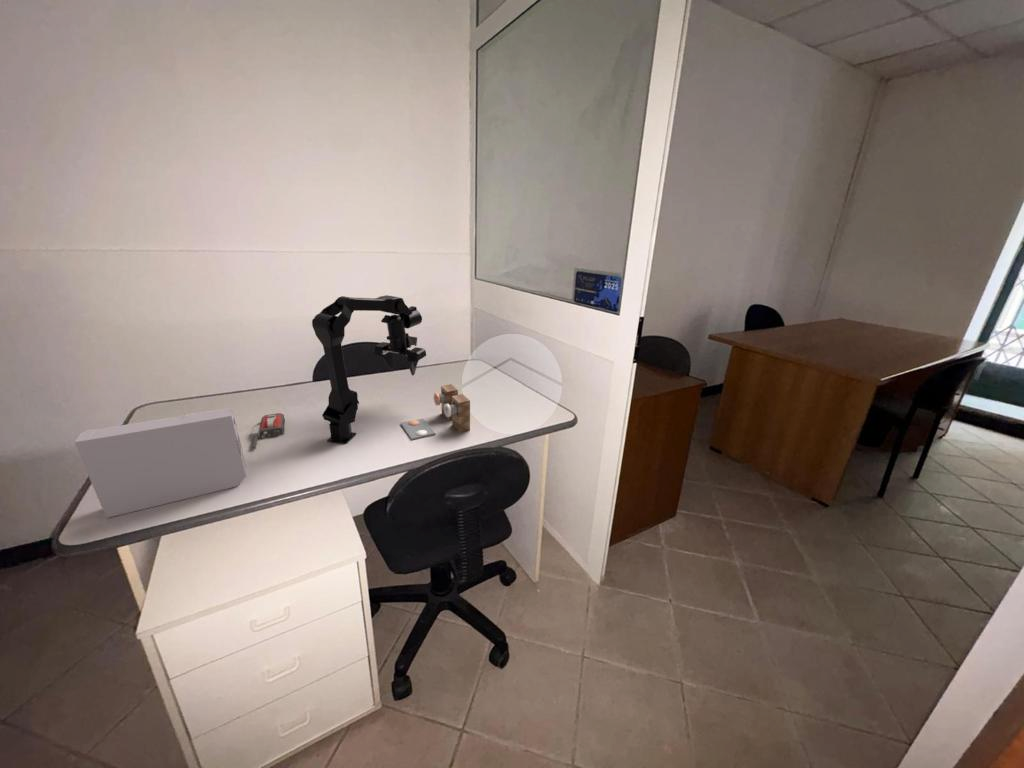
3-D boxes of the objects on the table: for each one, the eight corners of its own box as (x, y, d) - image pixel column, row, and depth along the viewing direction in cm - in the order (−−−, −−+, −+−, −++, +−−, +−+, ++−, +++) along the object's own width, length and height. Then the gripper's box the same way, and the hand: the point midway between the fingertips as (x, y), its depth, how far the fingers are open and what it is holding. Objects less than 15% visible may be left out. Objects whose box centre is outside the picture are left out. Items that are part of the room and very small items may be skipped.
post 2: (459, 432, 133) (458, 402, 129) (452, 424, 138) (451, 396, 134) (470, 429, 135) (470, 400, 131) (462, 422, 140) (462, 394, 136)
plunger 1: (438, 407, 138) (437, 396, 137) (433, 402, 142) (433, 391, 140) (455, 404, 142) (455, 392, 140) (451, 399, 145) (451, 388, 144)
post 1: (447, 420, 141) (447, 391, 137) (441, 413, 146) (440, 385, 142) (458, 417, 143) (458, 389, 139) (451, 411, 148) (451, 384, 144)
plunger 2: (449, 419, 131) (448, 407, 129) (444, 413, 134) (443, 402, 132) (467, 415, 134) (467, 403, 132) (462, 410, 137) (462, 398, 136)
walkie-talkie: (256, 423, 134) (250, 452, 118) (253, 411, 132) (247, 439, 116) (285, 419, 138) (283, 446, 121) (283, 407, 136) (281, 434, 120)
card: (411, 440, 127) (411, 438, 127) (400, 424, 137) (400, 422, 137) (435, 434, 131) (435, 432, 131) (423, 419, 141) (423, 417, 140)
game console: (112, 504, 94) (82, 430, 87) (248, 472, 108) (232, 406, 100) (106, 518, 90) (73, 442, 82) (248, 484, 103) (231, 415, 96)
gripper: (432, 328, 141) (436, 368, 148) (389, 322, 147) (395, 361, 154) (414, 338, 132) (419, 380, 139) (369, 331, 138) (376, 372, 145)
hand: (402, 373), depth 144 cm, fingers open, 9 cm apart
